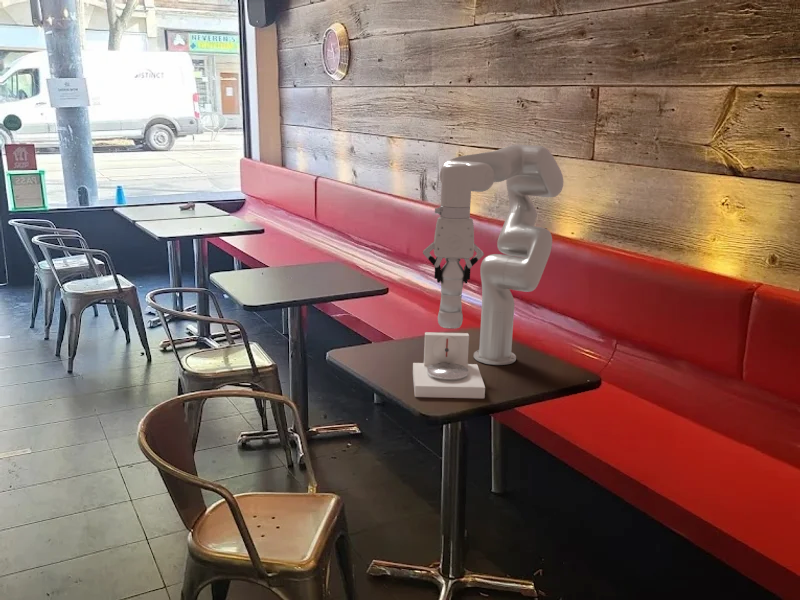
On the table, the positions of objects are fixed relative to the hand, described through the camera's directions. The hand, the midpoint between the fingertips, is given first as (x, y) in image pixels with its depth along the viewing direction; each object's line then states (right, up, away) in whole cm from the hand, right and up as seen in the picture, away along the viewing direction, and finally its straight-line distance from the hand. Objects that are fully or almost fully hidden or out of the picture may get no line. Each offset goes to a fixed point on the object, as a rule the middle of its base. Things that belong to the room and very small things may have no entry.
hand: (451, 281), depth 195 cm
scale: (-1, -28, +7) cm, 29 cm away
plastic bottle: (0, -12, +3) cm, 13 cm away
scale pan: (-1, -24, +6) cm, 25 cm away
